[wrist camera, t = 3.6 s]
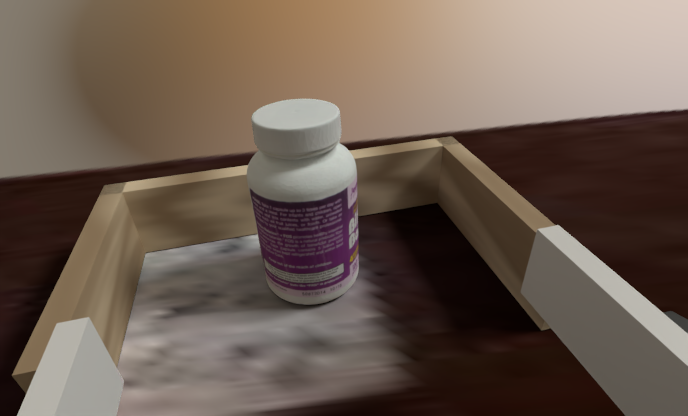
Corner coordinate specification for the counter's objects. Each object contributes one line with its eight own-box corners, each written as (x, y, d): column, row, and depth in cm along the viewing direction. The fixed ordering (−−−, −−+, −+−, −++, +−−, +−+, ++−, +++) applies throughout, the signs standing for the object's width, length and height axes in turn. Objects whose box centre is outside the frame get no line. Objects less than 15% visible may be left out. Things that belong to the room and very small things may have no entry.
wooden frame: (445, 191, 31) (451, 136, 28) (563, 325, 20) (589, 254, 18) (128, 244, 27) (104, 185, 24) (65, 445, 16) (11, 375, 14)
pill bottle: (375, 290, 22) (376, 121, 17) (280, 322, 21) (248, 146, 16) (339, 235, 27) (330, 86, 21) (257, 258, 25) (226, 103, 20)
